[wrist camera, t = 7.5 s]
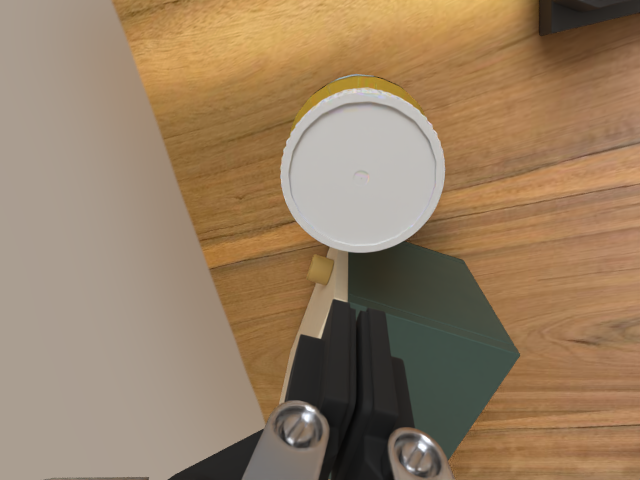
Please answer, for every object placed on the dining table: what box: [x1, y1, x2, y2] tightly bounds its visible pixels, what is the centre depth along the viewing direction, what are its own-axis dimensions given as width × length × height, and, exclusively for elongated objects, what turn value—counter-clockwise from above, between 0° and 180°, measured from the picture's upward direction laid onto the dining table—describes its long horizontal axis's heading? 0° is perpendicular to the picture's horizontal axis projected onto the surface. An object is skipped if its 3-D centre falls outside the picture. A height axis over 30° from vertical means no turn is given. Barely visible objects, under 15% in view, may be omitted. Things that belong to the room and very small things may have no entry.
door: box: [279, 247, 348, 405], centre depth 28 cm, size 2×14×11 cm, turn 162°
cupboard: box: [328, 241, 520, 480], centre depth 29 cm, size 10×14×12 cm
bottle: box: [280, 74, 445, 253], centre depth 21 cm, size 7×7×15 cm
